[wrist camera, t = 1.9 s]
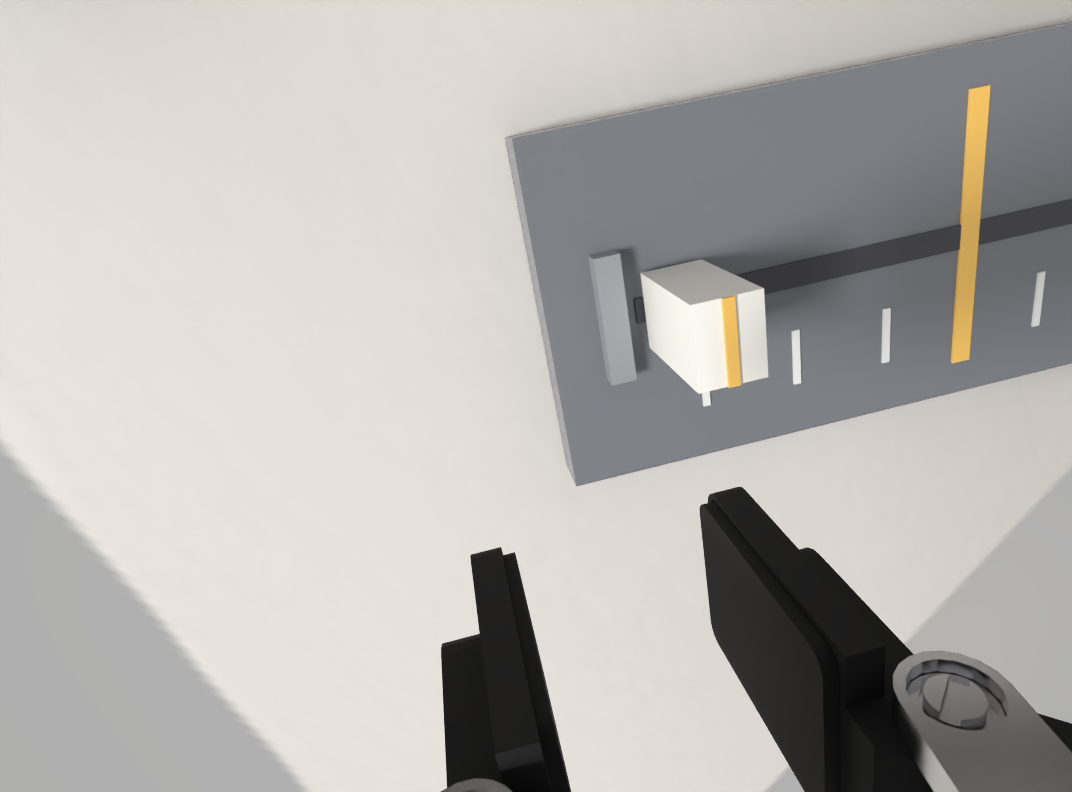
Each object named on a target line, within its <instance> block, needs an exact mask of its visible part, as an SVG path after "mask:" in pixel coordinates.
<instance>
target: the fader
mask: <svg viewBox="0 0 1072 792" xmlns="http://www.w3.org/2000/svg"><path fill="white" fill-rule="evenodd" d="M640 274H641V282H642V290H643V298H644V306H645V314H646V323H647V331H648V339H649V347H650V348H651V349H652V350H653V351H654V352H655V353H656V354H657V355H658V356H659V357H660V358H661V359H662V360H663V361H664V362H665V363H666V364H667V365H669V366H670V367H671V368H672V369H673V370H674V371H675V372H676V373H677V374H678V375H679V376H680V377H681V378H682V379H683V380H684V381H685V382H686V383H688V384H689V385H690V386H691V387H692V388H693V389H694V390H695V391H696V392H697V393H698V394H700V393H704V392H708V391H713V390H717V389H721V388H725V387H729V388H732V387H736V386H740V385H741V384H742V383H746V382H750V381H754V380H758V379H762V378H767V377H768V358H767V338H766V317H765V297H764V288H762V287H760V286H758V285H756V284H754V283H751V282H749V281H747V280H745V279H743V278H741V277H738V276H736V275H734V274H732V273H730V272H728V271H726V270H723V269H721V268H719V267H717V266H715V265H713V264H710V263H708V262H706V261H704V260H702V259H701V260H696V261H692V262H687V263H683V264H678V265H674V266H669V267H665V268H660V269H656V270H651V271H647V272H643V273H640Z"/></svg>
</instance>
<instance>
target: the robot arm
mask: <svg viewBox="0 0 1072 792" xmlns="http://www.w3.org/2000/svg"><path fill="white" fill-rule="evenodd" d="M700 519H701V529H702V538H703V548H704V558H705V568H706V577H707V587H708V597H709V607H710V616H711V624H712V628H713V632H714V635H715V637H716V640H717V642H718V644H719V646H720V647H721V649H722V651H723V652H724V654H725V656H726V658H727V659H728V661H729V663H730V664H731V666H732V668H733V670H734V671H735V673H736V675H737V676H738V678H739V680H740V682H741V683H742V685H743V687H744V688H745V690H746V692H747V694H748V695H749V697H750V699H751V700H752V702H753V704H754V706H755V707H756V709H757V711H758V712H759V714H760V716H761V718H762V719H763V721H764V723H765V724H766V726H767V728H768V730H769V731H770V733H771V735H772V736H773V738H774V740H775V742H776V743H777V745H778V747H779V748H780V750H781V752H782V754H783V755H784V757H785V759H786V760H787V762H788V764H789V766H790V767H791V769H792V771H793V772H794V774H795V776H796V777H797V779H798V781H799V783H800V784H801V786H802V788H803V790H804V791H805V792H1072V724H1071V723H1068V722H1064V721H1061V720H1058V719H1054V718H1051V717H1047V716H1044V715H1041V714H1038V713H1036V711H1035V710H1034V709H1033V708H1032V707H1031V706H1030V705H1029V704H1028V702H1027V701H1026V700H1025V699H1024V698H1023V697H1022V696H1021V694H1020V693H1019V692H1018V691H1017V690H1016V689H1015V688H1014V686H1013V685H1012V684H1011V683H1010V682H1009V681H1008V680H1007V679H1005V678H1004V677H1003V676H1002V675H1001V674H1000V673H999V672H998V671H996V670H995V669H993V668H991V667H989V666H988V665H986V664H984V663H982V662H981V661H979V660H976V659H973V658H970V657H967V656H965V655H962V654H957V653H951V652H945V651H927V652H921V653H918V654H913V653H912V652H911V651H910V650H909V649H908V648H907V647H906V646H905V645H904V644H903V643H902V642H901V641H900V640H899V639H898V637H897V636H896V635H895V634H894V633H893V632H892V631H891V630H890V629H889V628H888V627H887V626H886V625H885V624H884V623H883V622H882V621H881V619H880V618H879V617H878V616H877V615H876V614H875V613H874V612H873V611H872V610H871V609H870V608H869V607H868V606H867V605H866V604H865V602H864V601H863V600H862V599H861V598H860V597H859V596H858V595H857V594H856V593H855V592H854V591H853V590H852V589H851V588H850V587H849V585H848V584H847V583H846V582H845V581H844V580H843V579H842V578H841V577H840V576H839V575H838V574H837V573H836V572H835V571H834V570H833V568H832V567H831V566H830V565H829V564H828V563H827V562H826V561H825V560H824V559H823V558H822V557H821V556H820V555H819V554H818V553H817V552H816V551H815V550H813V549H811V548H804V549H800V550H799V549H798V548H797V547H796V546H795V545H794V544H793V543H792V541H791V540H790V539H789V538H788V537H787V536H786V535H785V534H784V533H783V531H782V530H781V529H780V528H779V527H778V526H777V525H776V524H775V523H774V521H773V520H772V519H771V518H770V517H769V516H768V515H767V514H766V513H765V512H764V510H763V509H762V508H761V507H760V506H759V505H758V504H757V503H756V502H755V500H754V499H753V498H752V497H751V496H750V495H749V494H748V493H747V492H746V491H745V490H744V489H743V488H742V487H736V488H732V489H728V490H724V491H720V492H716V493H713V494H710V495H709V497H708V503H707V504H703V505H701V506H700ZM471 565H472V574H473V582H474V590H475V598H476V606H477V614H478V622H479V631H480V634H477V635H474V636H470V637H466V638H462V639H458V640H455V641H451V642H447V643H443V644H442V647H441V659H442V682H443V704H444V726H445V749H446V771H447V788H446V789H445V790H443V791H441V792H571V789H570V785H569V780H568V776H567V772H566V767H565V763H564V759H563V754H562V750H561V746H560V741H559V737H558V733H557V728H556V724H555V720H554V715H553V711H552V707H551V702H550V698H549V694H548V689H547V685H546V681H545V677H544V672H543V668H542V664H541V660H540V656H539V651H538V647H537V643H536V639H535V635H534V630H533V626H532V622H531V618H530V614H529V609H528V605H527V601H526V597H525V593H524V589H523V584H522V580H521V576H520V572H519V568H518V563H517V559H516V555H515V553H511V554H507V555H503V553H502V549H501V547H500V548H496V549H492V550H488V551H484V552H480V553H476V554H472V555H471Z"/></svg>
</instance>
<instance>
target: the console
mask: <svg viewBox="0 0 1072 792" xmlns="http://www.w3.org/2000/svg"><path fill="white" fill-rule="evenodd" d="M505 141H506V146H507V151H508V156H509V162H510V167H511V172H512V178H513V183H514V188H515V193H516V199H517V204H518V209H519V215H520V220H521V225H522V230H523V236H524V241H525V246H526V252H527V257H528V262H529V267H530V273H531V278H532V283H533V289H534V294H535V299H536V304H537V310H538V315H539V320H540V326H541V331H542V336H543V341H544V347H545V352H546V357H547V363H548V368H549V373H550V378H551V384H552V389H553V394H554V400H555V405H556V410H557V416H558V421H559V426H560V431H561V437H562V442H563V447H564V453H565V458H566V463H567V466H568V468H569V471H570V473H571V475H572V477H573V480H574V482H575V484H576V486H580V485H584V484H588V483H592V482H596V481H600V480H604V479H608V478H612V477H616V476H620V475H624V474H628V473H632V472H636V471H640V470H644V469H648V468H652V467H656V466H660V465H664V464H668V463H672V462H676V461H680V460H684V459H688V458H692V457H696V456H700V455H704V454H708V453H712V452H716V451H720V450H724V449H728V448H732V447H736V446H740V445H745V444H749V443H753V442H757V441H761V440H765V439H769V438H773V437H777V436H781V435H785V434H789V433H793V432H797V431H801V430H805V429H809V428H813V427H817V426H821V425H825V424H829V423H833V422H837V421H841V420H845V419H849V418H853V417H857V416H861V415H865V414H869V413H873V412H877V411H881V410H885V409H889V408H893V407H897V406H901V405H905V404H910V403H914V402H918V401H922V400H926V399H930V398H934V397H938V396H942V395H946V394H950V393H954V392H958V391H962V390H966V389H970V388H974V387H978V386H982V385H986V384H990V383H994V382H998V381H1002V380H1006V379H1010V378H1014V377H1018V376H1022V375H1026V374H1030V373H1034V372H1038V371H1042V370H1046V369H1050V368H1054V367H1058V366H1062V365H1066V364H1070V363H1072V22H1069V23H1064V24H1059V25H1054V26H1050V27H1045V28H1040V29H1035V30H1030V31H1025V32H1020V33H1015V34H1010V35H1005V36H1001V37H996V38H991V39H986V40H981V41H976V42H971V43H966V44H961V45H956V46H952V47H947V48H942V49H937V50H932V51H927V52H922V53H917V54H912V55H907V56H903V57H898V58H893V59H888V60H883V61H878V62H873V63H868V64H863V65H858V66H853V67H849V68H844V69H839V70H834V71H829V72H824V73H819V74H814V75H809V76H804V77H800V78H795V79H790V80H785V81H780V82H775V83H770V84H765V85H760V86H755V87H751V88H746V89H741V90H736V91H731V92H726V93H721V94H716V95H711V96H706V97H702V98H697V99H692V100H687V101H682V102H677V103H672V104H667V105H662V106H657V107H653V108H648V109H643V110H638V111H633V112H628V113H623V114H618V115H613V116H608V117H603V118H599V119H594V120H589V121H584V122H579V123H574V124H569V125H564V126H559V127H554V128H550V129H545V130H540V131H535V132H530V133H525V134H520V135H515V136H510V137H505ZM701 259H702V260H704V261H706V262H708V263H710V264H713V265H715V266H717V267H719V268H721V269H723V270H726V271H728V272H730V273H732V274H734V275H736V276H738V277H741V278H743V279H745V280H747V281H749V282H751V283H754V284H756V285H758V286H760V287H762V288H764V297H765V317H766V338H767V358H768V377H767V378H762V379H758V380H754V381H750V382H746V383H742V384H741V385H740V386H736V387H732V388H729V387H725V388H721V389H717V390H713V391H708V392H704V393H700V394H698V393H697V392H696V391H695V390H694V389H693V388H692V387H691V386H690V385H689V384H688V383H686V382H685V381H684V380H683V379H682V378H681V377H680V376H679V375H678V374H677V373H676V372H675V371H674V370H673V369H672V368H671V367H670V366H669V365H667V364H666V363H665V362H664V361H663V360H662V359H661V358H660V357H659V356H658V355H657V354H656V353H655V352H654V351H653V350H652V349H651V348H650V347H649V339H648V331H647V323H646V314H645V306H644V298H643V290H642V282H641V274H640V273H643V272H647V271H651V270H656V269H660V268H665V267H669V266H674V265H678V264H683V263H687V262H692V261H696V260H701Z"/></svg>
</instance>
